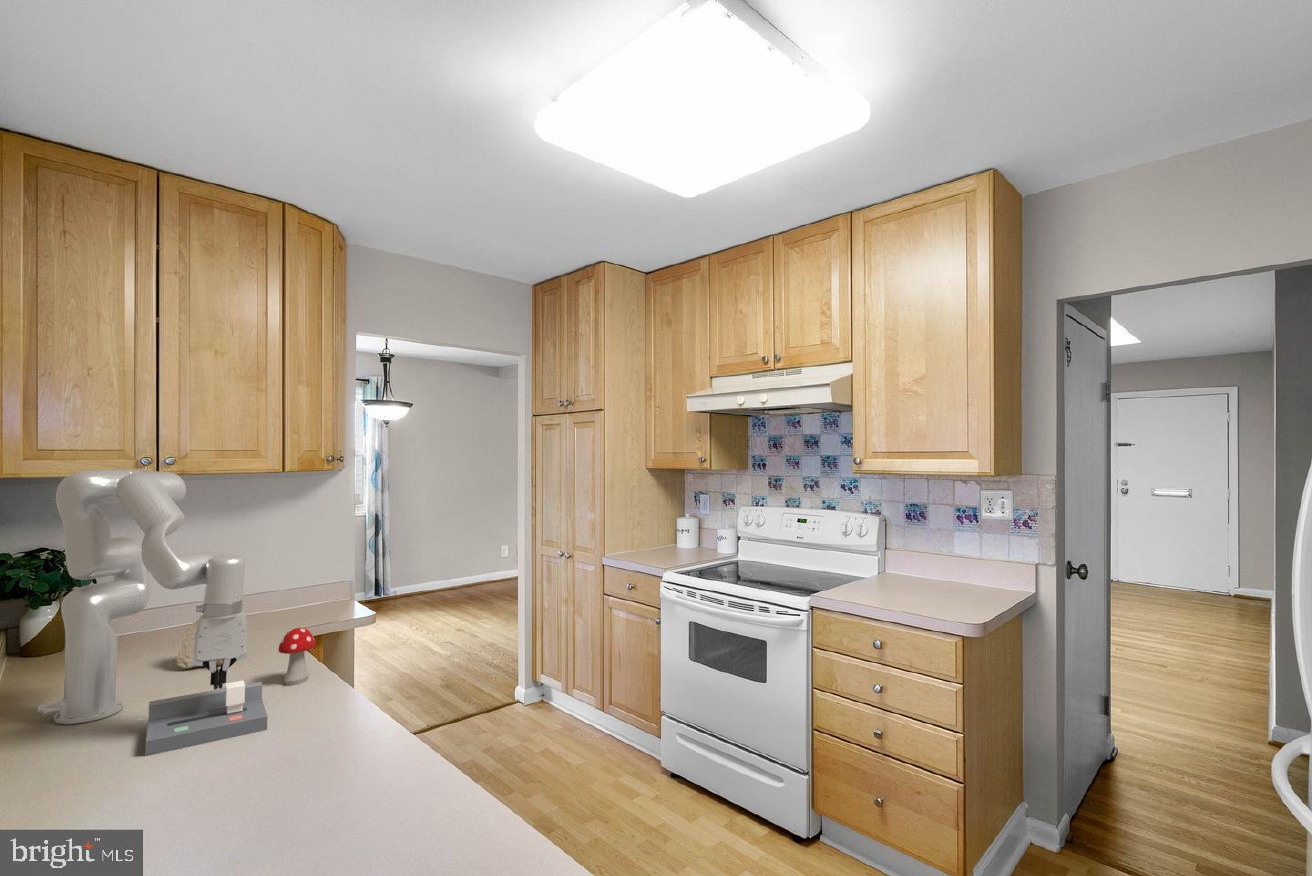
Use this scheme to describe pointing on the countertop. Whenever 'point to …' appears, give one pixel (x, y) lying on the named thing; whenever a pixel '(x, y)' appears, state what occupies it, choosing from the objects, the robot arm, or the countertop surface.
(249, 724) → the panel
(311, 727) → the countertop surface
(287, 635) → the decorative mushroom
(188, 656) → the rock
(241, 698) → the knob
